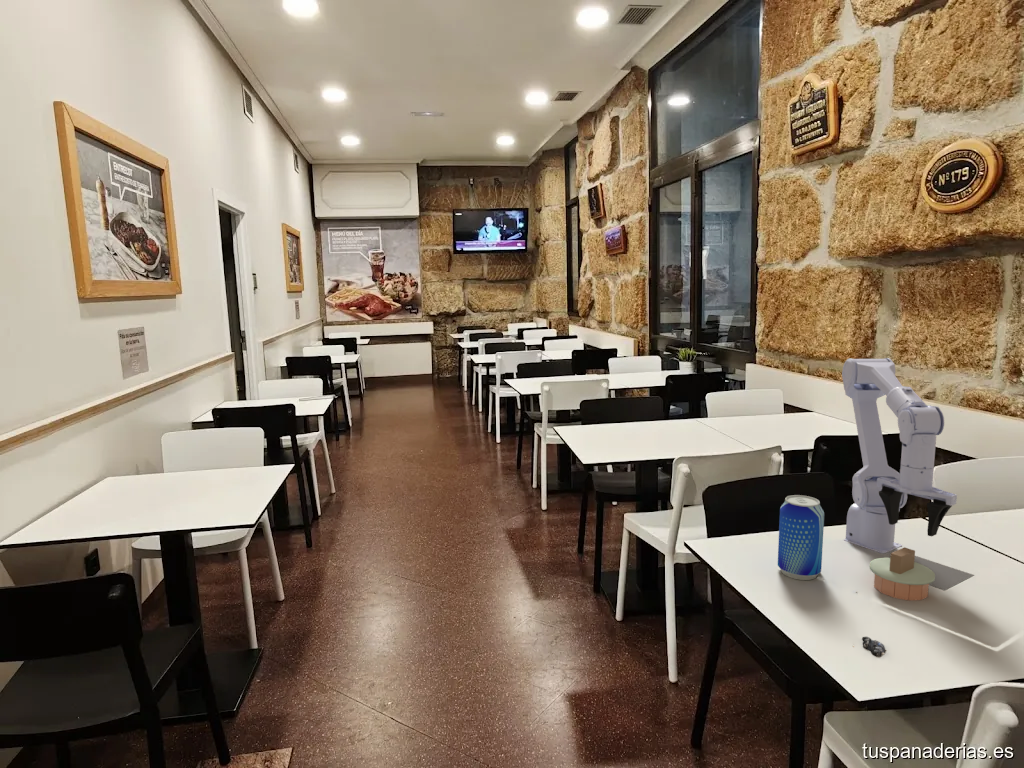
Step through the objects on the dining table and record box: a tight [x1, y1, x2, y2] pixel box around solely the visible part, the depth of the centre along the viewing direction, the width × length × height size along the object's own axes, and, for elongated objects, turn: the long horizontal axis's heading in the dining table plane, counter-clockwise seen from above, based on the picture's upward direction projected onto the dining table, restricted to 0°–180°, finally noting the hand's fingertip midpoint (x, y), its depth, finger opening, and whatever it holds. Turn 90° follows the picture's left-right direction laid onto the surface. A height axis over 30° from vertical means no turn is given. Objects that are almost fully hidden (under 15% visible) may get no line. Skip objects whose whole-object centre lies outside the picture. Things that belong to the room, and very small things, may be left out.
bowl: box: [873, 574, 930, 601], centre depth 127 cm, size 9×9×4 cm
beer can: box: [777, 494, 825, 581], centre depth 135 cm, size 8×8×16 cm
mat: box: [914, 555, 975, 591], centre depth 134 cm, size 12×12×1 cm
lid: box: [869, 546, 935, 585], centre depth 126 cm, size 11×11×4 cm
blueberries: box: [852, 636, 888, 658], centre depth 108 cm, size 7×8×2 cm
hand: (912, 529), depth 133 cm, fingers open, 7 cm apart
